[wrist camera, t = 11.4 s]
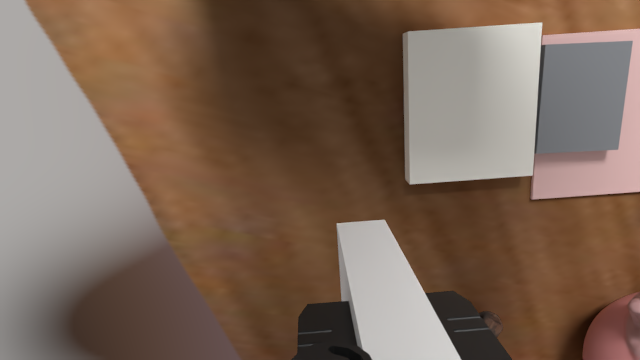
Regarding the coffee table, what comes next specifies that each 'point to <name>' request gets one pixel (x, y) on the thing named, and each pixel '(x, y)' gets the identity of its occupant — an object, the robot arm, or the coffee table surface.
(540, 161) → the felt mat
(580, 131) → the coaster
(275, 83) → the coffee table surface
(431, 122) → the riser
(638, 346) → the balloon
